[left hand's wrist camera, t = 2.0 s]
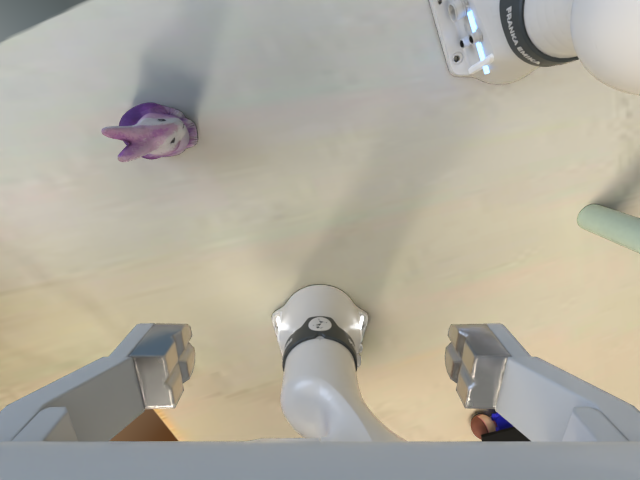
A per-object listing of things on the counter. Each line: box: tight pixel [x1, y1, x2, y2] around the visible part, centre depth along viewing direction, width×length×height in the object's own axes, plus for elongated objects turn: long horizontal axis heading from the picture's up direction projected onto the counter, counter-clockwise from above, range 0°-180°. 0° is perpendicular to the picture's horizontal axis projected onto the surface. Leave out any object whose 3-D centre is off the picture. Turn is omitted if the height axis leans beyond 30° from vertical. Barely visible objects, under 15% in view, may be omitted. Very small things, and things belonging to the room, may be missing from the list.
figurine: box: [102, 103, 198, 162], centre depth 47 cm, size 9×10×15 cm
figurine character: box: [471, 413, 530, 441], centre depth 72 cm, size 7×8×15 cm
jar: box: [577, 204, 640, 253], centre depth 52 cm, size 5×5×14 cm
